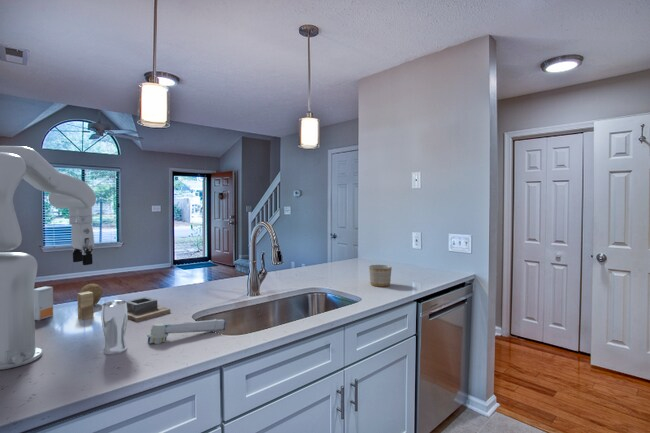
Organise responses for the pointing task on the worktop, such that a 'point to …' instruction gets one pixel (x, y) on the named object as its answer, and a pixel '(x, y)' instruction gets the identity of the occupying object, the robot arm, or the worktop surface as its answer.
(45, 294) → the skincare box
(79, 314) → the oak peg
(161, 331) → the white handle
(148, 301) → the peg caddy
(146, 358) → the worktop surface
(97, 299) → the natural sponge
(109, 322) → the beer glass
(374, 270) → the planter
